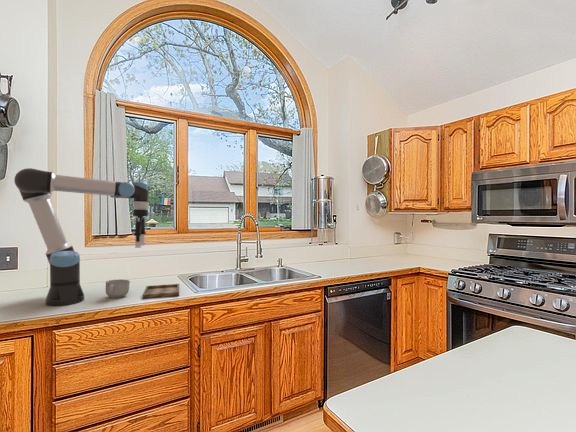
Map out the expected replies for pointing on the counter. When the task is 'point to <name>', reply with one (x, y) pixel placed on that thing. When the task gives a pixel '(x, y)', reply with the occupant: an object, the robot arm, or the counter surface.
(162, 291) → the brown wooden tray
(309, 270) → the counter surface
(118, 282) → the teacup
